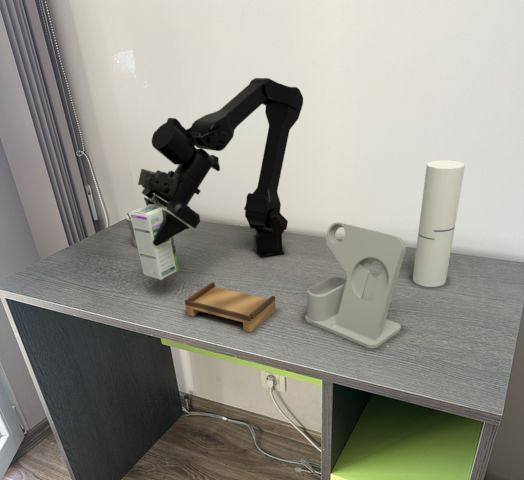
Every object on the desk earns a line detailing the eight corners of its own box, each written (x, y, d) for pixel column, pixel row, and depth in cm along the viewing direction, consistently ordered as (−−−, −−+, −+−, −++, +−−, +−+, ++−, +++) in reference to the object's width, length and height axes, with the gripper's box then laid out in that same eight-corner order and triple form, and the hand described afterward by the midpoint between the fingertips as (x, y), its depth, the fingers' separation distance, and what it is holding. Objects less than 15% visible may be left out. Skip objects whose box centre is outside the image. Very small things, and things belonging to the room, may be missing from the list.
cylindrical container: (447, 287, 108) (467, 168, 94) (413, 286, 109) (428, 168, 95) (444, 273, 113) (462, 160, 100) (411, 272, 115) (425, 160, 101)
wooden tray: (275, 311, 103) (275, 296, 101) (251, 332, 96) (249, 317, 94) (213, 296, 110) (212, 282, 108) (186, 315, 103) (184, 300, 102)
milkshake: (127, 248, 138) (119, 212, 133) (136, 241, 142) (130, 206, 137) (141, 249, 137) (134, 213, 131) (151, 242, 141) (144, 207, 136)
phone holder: (300, 319, 99) (299, 232, 90) (332, 301, 105) (334, 218, 95) (373, 350, 89) (380, 255, 79) (404, 328, 94) (414, 237, 85)
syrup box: (161, 280, 106) (148, 214, 98) (142, 275, 109) (128, 210, 101) (179, 270, 110) (168, 206, 102) (161, 265, 113) (149, 202, 105)
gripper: (142, 145, 104) (103, 208, 106) (176, 160, 91) (131, 232, 92) (182, 176, 112) (145, 234, 114) (219, 194, 98) (176, 260, 100)
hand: (148, 239), depth 105 cm, fingers closed on syrup box, 7 cm apart
